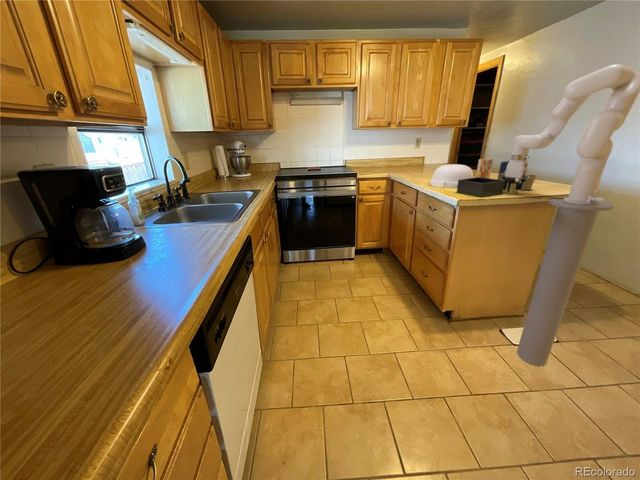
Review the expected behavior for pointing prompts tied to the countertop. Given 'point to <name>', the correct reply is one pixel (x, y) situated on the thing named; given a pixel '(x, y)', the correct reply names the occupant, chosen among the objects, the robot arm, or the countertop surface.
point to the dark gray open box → (480, 186)
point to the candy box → (484, 168)
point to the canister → (502, 170)
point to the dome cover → (450, 175)
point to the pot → (511, 187)
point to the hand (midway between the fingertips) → (512, 188)
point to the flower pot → (528, 183)
